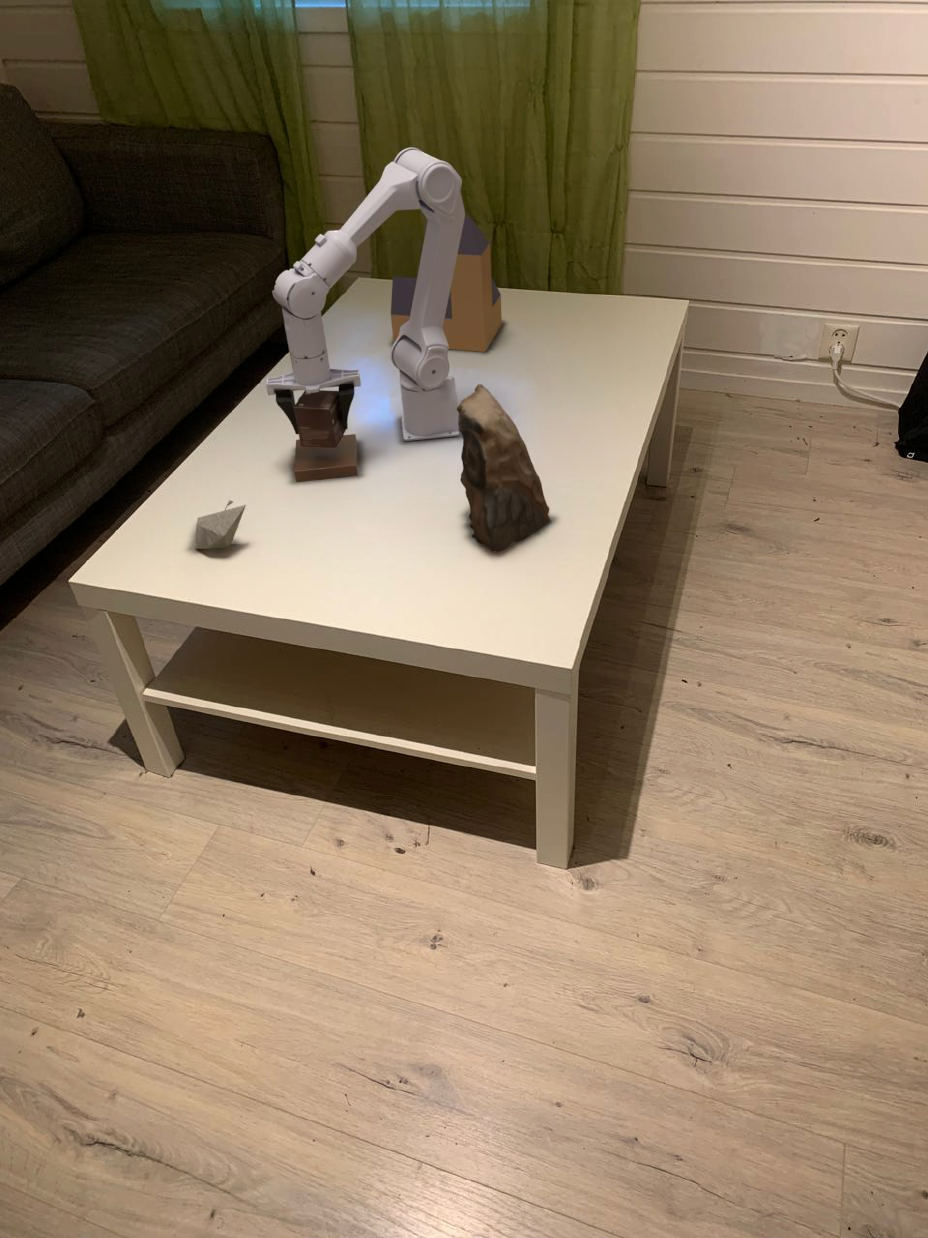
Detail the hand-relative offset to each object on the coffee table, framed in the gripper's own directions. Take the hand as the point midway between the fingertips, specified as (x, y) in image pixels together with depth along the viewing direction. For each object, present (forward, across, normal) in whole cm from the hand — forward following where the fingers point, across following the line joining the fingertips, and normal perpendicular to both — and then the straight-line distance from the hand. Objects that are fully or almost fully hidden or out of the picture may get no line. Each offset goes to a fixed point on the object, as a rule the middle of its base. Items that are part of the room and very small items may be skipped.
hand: (321, 428), depth 162 cm
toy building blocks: (+6, +24, +44) cm, 51 cm away
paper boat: (+7, -15, -20) cm, 26 cm away
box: (+2, 0, 0) cm, 2 cm away
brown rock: (+6, +27, -23) cm, 36 cm away
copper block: (+6, 0, 0) cm, 6 cm away
